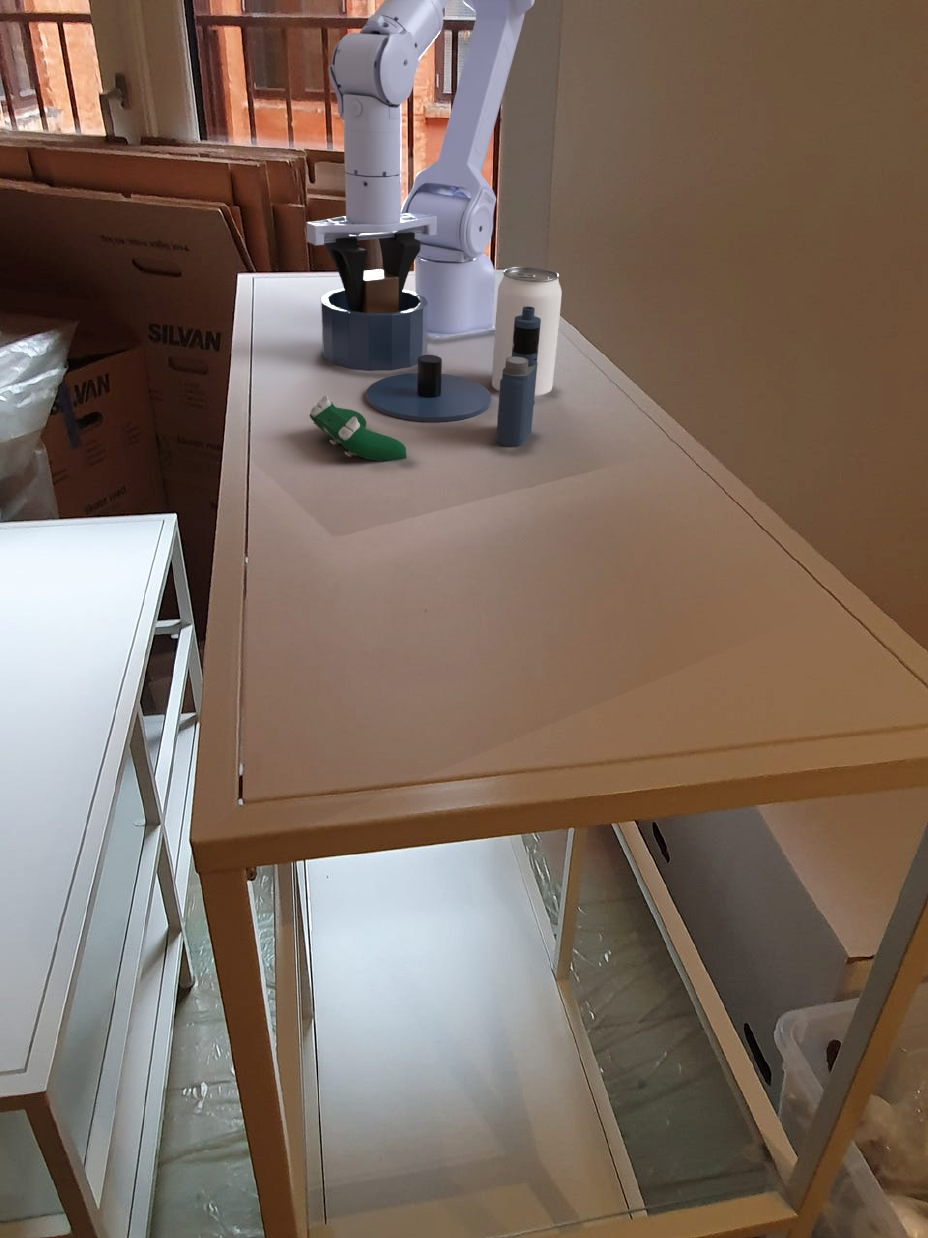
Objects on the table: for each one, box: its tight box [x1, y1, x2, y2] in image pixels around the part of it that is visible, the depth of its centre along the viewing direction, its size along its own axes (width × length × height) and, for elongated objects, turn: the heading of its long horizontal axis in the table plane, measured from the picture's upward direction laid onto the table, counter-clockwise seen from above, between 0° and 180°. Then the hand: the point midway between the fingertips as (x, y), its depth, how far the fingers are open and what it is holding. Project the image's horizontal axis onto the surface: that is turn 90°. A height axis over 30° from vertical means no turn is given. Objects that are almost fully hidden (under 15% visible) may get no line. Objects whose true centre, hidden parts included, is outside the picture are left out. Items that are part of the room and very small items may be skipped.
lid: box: [366, 354, 492, 423], centre depth 91 cm, size 13×13×5 cm
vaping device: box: [495, 306, 541, 448], centre depth 82 cm, size 3×5×12 cm, turn 161°
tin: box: [320, 287, 428, 372], centre depth 102 cm, size 12×12×6 cm
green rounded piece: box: [309, 395, 407, 462], centre depth 81 cm, size 9×4×6 cm
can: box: [491, 266, 563, 397], centre depth 94 cm, size 6×6×12 cm
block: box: [350, 268, 399, 313], centre depth 100 cm, size 4×4×5 cm
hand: (374, 308), depth 101 cm, fingers closed on block, 4 cm apart
